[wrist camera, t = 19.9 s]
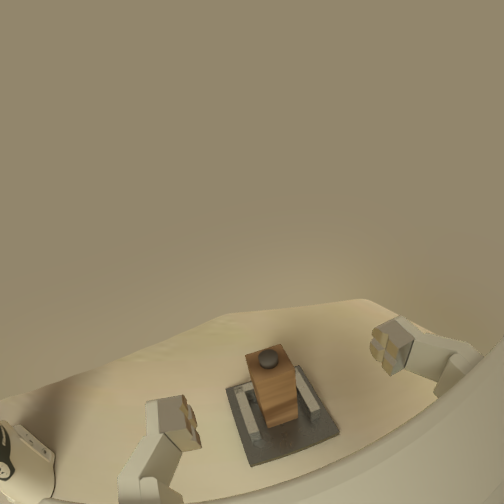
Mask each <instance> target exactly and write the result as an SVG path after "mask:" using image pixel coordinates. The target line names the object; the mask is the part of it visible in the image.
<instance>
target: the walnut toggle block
mask: <svg viewBox="0 0 504 504" xmlns="http://www.w3.org/2000/svg"><path fill="white" fill-rule="evenodd" d="M245 357H246V361H247V365H248V369H249V373H250V376H251V380H252V384H253V387H254V391H255V395H256V398H257V402H258V406H259V408H260V411H261V413H262V415H263V418H264V420H265V423H266V425H267V428H271V427H274V426H277V425H280V424H282V423H285V422H288V421H291V420H293V419H296V418H298V406H297V391H296V376H295V368H294V366H293V365H292V363H291V361H290V359H289V358H288V356H287V354H286V352H285V351H284V349H283V347H282V345H281V344H278V345H275V346H272V347H269V348H266V349H263V350H260V351H257V352H254V353H251V354H247V355H245Z"/></svg>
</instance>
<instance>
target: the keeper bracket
mask: <svg viewBox="0 0 504 504" xmlns="http://www.w3.org/2000/svg"><path fill="white" fill-rule="evenodd" d="M294 368H295V376H296V391H297V406H298V418H296V419H293V420H291V421H288V422H285V423H282V424H280V425H277V426H274V427H271V428H267V425H266V423H265V420H264V418H263V415H262V413H261V411H260V408H259V406H258V402H257V398H256V395H255V391H254V387H253V384H252V381H251V382H248V383H244V384H241V385H238V386H234V387H230V388H227V389H226V393H227V396H228V400H229V403H230V406H231V410H232V413H233V416H234V419H235V422H236V426H237V429H238V432H239V435H240V438H241V441H242V444H243V447H244V450H245V453H246V456H247V459H248V461H249V464H250V466H251V467H253V466H257V465H260V464H264V463H267V462H270V461H273V460H276V459H279V458H282V457H285V456H288V455H291V454H294V453H296V452H299V451H302V450H304V449H307V448H309V447H312V446H314V445H317V444H319V443H321V442H324V441H326V440H328V439H330V438H333V437H335V436H337V435H339V433H340V432H339V430H338V429H337V427H336V425H335V424H334V422H333V420H332V419H331V417H330V416H329V414H328V412H327V411H326V409H325V407H324V406H323V404H322V402H321V401H320V399H319V397H318V396H317V394H316V392H315V391H314V389H313V387H312V386H311V384H310V382H309V381H308V379H307V377H306V376H305V374H304V372H303V371H302V369H301V367H300V366H299V365H298V366H296V367H294Z"/></svg>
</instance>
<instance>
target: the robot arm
mask: <svg viewBox="0 0 504 504" xmlns="http://www.w3.org/2000/svg"><path fill="white" fill-rule="evenodd" d="M372 336H373V337H374V338H373V339H372V341H371V342H370V351H371V354H372V356H373V357H374V359H375V360H376V361H379V362H382V368H383V369H384V370H385V371H386V372H387V373H388V374H389V376H392V375H394V374H395V373H397V372H399V371H401V370H402V369H404V368H405V370H408V371H410V372H413V373H415V374H418V375H420V376H423V377H425V378H428V379H430V380H433V381H435V382H438V383H437V384H436V386H435V388H434V391H433V393H434V394H435V395H436V396H437V397H438V399H437V400H436V401H434V402H433V403H432V404H431V405H429V406H428V407H427V408H425V409H424V410H423V411H421V412H420V413H418V414H417V415H416V416H414V417H413V418H411V419H410V420H408V421H407V422H405V423H404V424H402V425H401V426H399V427H398V428H396V429H395V430H393V431H391V432H390V433H388V434H386V435H385V436H383V437H381V438H380V439H378V440H376V441H375V442H373V443H371V444H369V445H367V446H366V447H364V448H362V449H360V450H358V451H356V452H354V453H352V454H350V455H348V456H346V457H344V458H342V459H340V460H338V461H336V462H333V463H331V464H329V465H327V466H324V467H322V468H320V469H317V470H315V471H312V472H310V473H307V474H305V475H302V476H299V477H297V478H294V479H291V480H288V481H285V482H282V483H279V484H276V485H273V486H269V487H266V488H263V489H259V490H255V491H252V492H248V493H244V494H239V495H235V496H230V497H225V498H220V499H215V500H209V501H203V502H196V503H188V504H504V336H503V337H502V338H501V339H500V341H499V342H498V343H497V344H496V345H495V346H494V347H493V348H492V349H491V350H490V352H489V353H488V354H487V355H486V356H485V357H484V356H483V355H482V354H480V353H479V352H478V351H477V350H476V349H475V348H474V347H472V346H471V345H470V344H469V343H468V342H464V341H459V340H455V339H451V338H447V337H442V336H438V335H434V334H430V333H425V334H424V333H422V332H421V331H420V330H419V329H418V328H417V327H415V326H414V325H413V324H412V323H411V322H410V321H408V320H407V319H406V318H405V317H404V316H402V315H399V316H397V317H395V318H393V319H392V320H389V321H387V322H385V323H383V324H381V325H379V326H377V327H375V328H374V329H373V331H372ZM145 413H146V436H143V437H142V439H141V440H140V442H139V443H138V445H137V447H136V448H135V450H134V451H133V453H132V455H131V456H130V458H129V459H128V461H127V463H126V464H125V466H124V468H123V469H122V471H121V472H120V474H119V476H118V477H117V484H118V500H119V504H184V502H183V498H182V495H181V494H179V493H178V492H176V491H174V490H173V489H171V488H169V485H170V483H171V480H172V478H173V475H174V473H175V470H176V468H177V466H178V463H179V461H180V458H181V456H182V452H187V451H192V450H196V449H201V448H202V446H201V441H200V436H199V434H198V432H197V431H196V430H195V429H196V427H197V422H196V418H195V415H194V412H193V410H192V408H191V406H190V405H188V404H187V400H186V398H185V396H184V395H179V396H173V397H168V398H162V399H156V400H150V401H146V404H145ZM54 459H55V455H54V453H53V452H52V451H51V450H50V449H49V448H47V447H46V446H45V445H44V444H42V443H41V442H40V441H39V440H38V439H37V438H35V437H34V436H33V435H32V434H31V433H30V432H29V431H28V430H26V429H25V428H24V427H23V426H22V425H20V424H19V425H15V426H13V427H12V426H11V425H10V424H9V423H8V422H6V421H4V420H2V421H0V491H1V492H2V493H3V494H5V495H6V498H7V500H8V501H10V502H11V503H13V504H84V503H76V502H70V501H64V500H59V499H54V498H50V497H51V495H52V492H53V489H54V471H53V464H54Z"/></svg>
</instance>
